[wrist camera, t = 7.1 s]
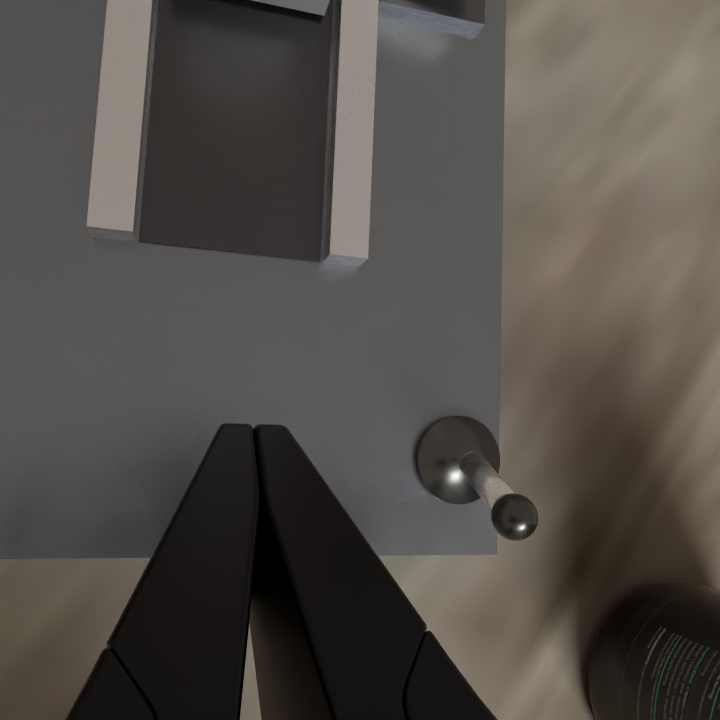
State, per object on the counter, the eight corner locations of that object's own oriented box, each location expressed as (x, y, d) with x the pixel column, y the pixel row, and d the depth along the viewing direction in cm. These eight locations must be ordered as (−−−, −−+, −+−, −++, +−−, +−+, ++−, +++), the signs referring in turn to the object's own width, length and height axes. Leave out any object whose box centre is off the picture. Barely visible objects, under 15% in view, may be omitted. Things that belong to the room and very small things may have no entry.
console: (476, 546, 22) (512, 560, 20) (-127, 549, 18) (-175, 568, 15) (488, -88, 25) (521, -142, 23) (-30, -230, 20) (-58, -316, 18)
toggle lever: (480, 475, 20) (540, 549, 17) (445, 474, 20) (497, 549, 16) (489, 441, 20) (551, 509, 16) (452, 439, 20) (508, 508, 16)
